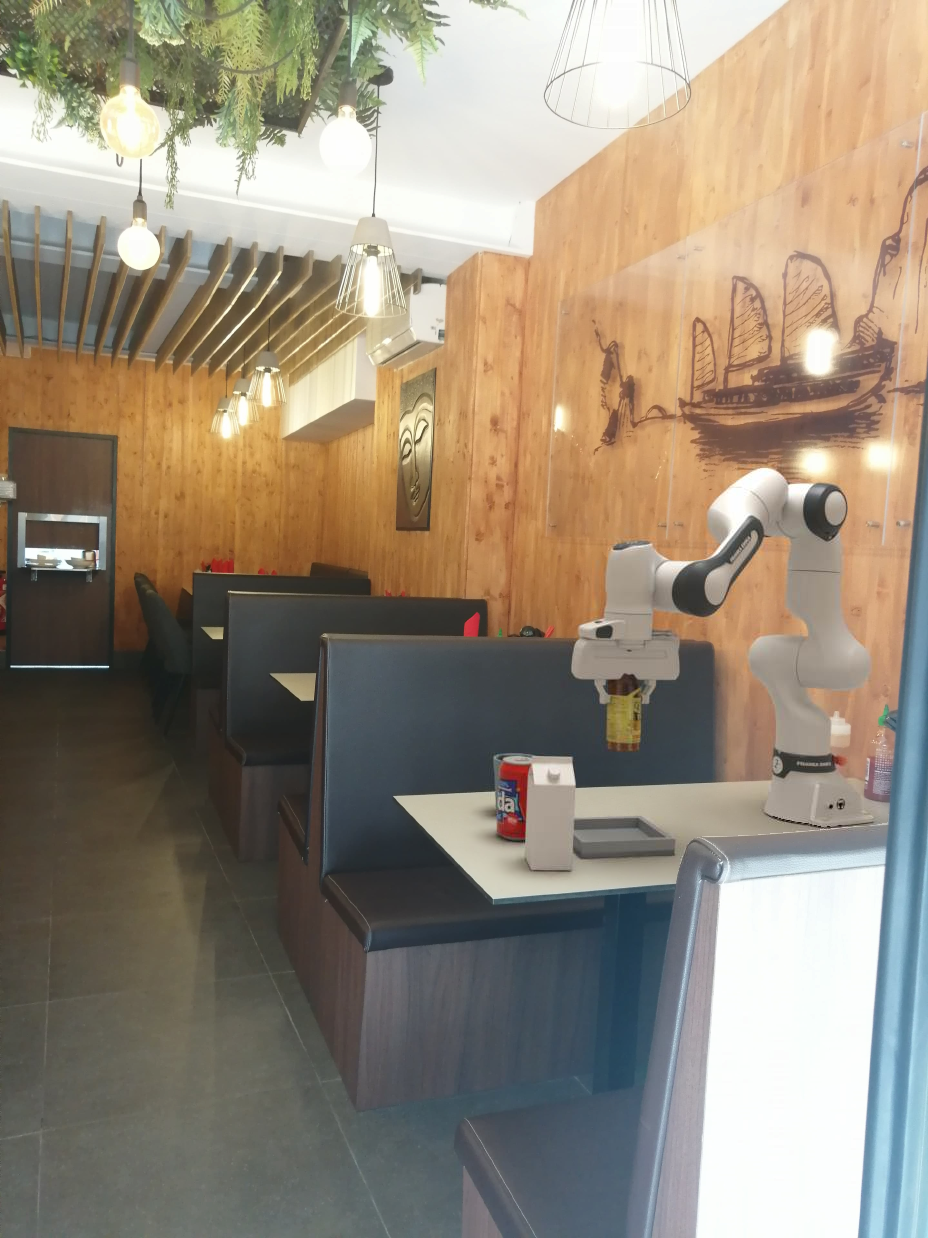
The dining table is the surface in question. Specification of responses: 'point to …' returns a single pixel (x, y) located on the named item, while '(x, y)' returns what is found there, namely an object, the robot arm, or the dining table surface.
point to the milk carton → (550, 813)
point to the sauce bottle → (624, 714)
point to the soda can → (513, 797)
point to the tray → (620, 838)
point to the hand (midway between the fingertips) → (624, 703)
